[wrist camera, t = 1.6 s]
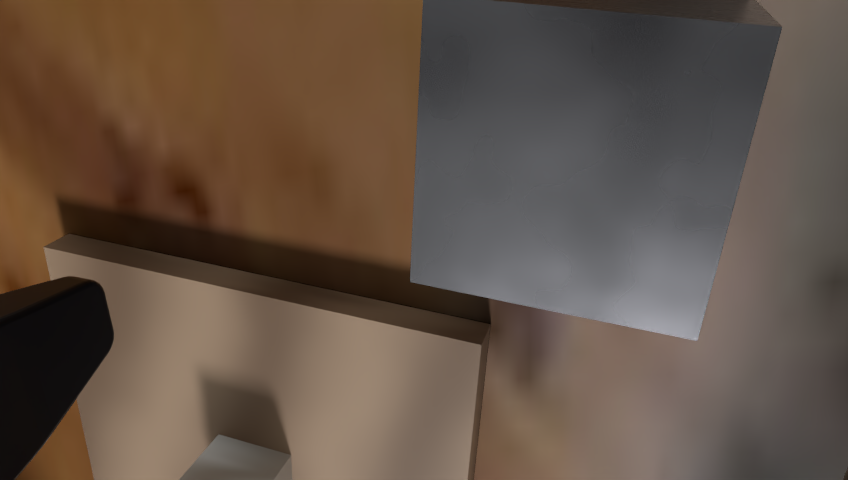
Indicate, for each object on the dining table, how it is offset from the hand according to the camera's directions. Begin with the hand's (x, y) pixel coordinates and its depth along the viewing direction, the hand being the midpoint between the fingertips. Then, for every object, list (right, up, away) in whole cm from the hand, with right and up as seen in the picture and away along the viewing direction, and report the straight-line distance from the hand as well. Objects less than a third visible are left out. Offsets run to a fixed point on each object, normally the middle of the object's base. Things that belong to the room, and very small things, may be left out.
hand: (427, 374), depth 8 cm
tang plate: (-6, -7, +19) cm, 21 cm away
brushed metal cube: (+4, +5, +10) cm, 12 cm away
